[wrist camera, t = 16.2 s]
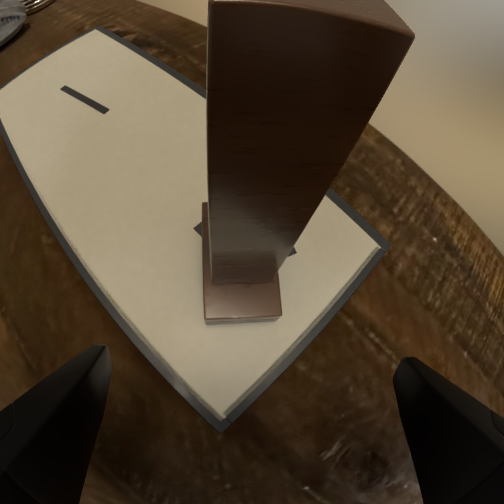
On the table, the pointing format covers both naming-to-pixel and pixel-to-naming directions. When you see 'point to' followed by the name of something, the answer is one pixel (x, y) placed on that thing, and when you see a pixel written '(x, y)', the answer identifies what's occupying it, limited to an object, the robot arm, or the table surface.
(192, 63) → the table surface
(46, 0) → the water bottle
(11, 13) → the fossil
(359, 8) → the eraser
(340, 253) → the whiteboard
